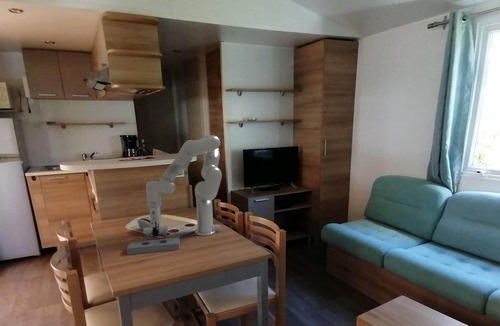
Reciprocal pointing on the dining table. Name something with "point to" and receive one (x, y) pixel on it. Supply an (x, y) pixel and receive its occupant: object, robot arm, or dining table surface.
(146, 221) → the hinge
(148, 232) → the clip
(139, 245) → the rail
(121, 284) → the dining table surface
